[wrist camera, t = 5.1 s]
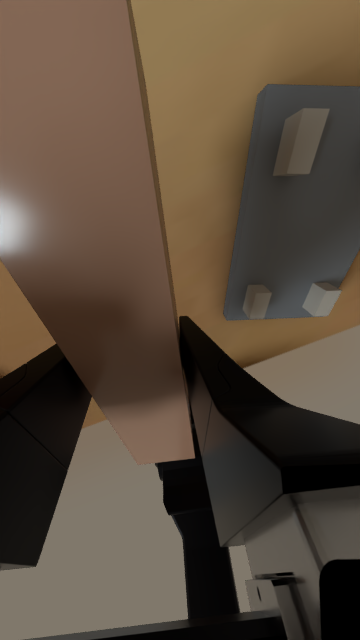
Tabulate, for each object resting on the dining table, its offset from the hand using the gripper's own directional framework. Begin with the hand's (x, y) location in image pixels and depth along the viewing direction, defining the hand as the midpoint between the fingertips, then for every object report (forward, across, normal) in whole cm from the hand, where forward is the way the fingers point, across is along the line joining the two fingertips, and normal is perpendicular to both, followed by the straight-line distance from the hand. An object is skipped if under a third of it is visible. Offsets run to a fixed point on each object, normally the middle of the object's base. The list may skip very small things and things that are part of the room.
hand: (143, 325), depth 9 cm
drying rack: (+11, -14, -2) cm, 18 cm away
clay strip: (+1, 0, 0) cm, 1 cm away
